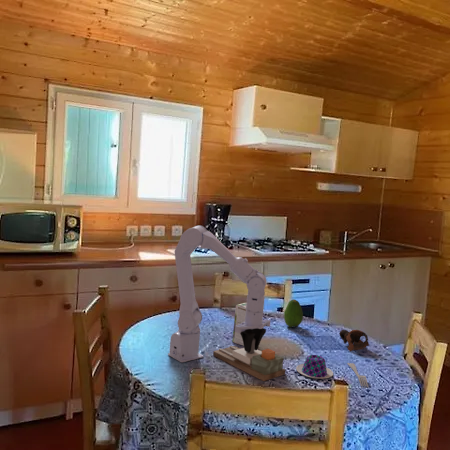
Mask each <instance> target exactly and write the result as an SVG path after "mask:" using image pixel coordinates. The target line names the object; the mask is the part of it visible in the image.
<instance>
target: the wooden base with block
mask: <svg viewBox="0 0 450 450" xmlns="http://www.w3.org/2000/svg"><path fill="white" fill-rule="evenodd" d="M237 349H241V348H240V347H238V346H236V345H230V346H229V347H224V348H218V349H217V350H213V352H212V356H214V357H216V358H217V359H220V360H222V361H224V363H227V364H229V365H231V366H233V367H235V368H237V369H239V370H240V371H243V372H245V373H247V374H249V375H250V376H253V377H254V378H256V379H258V380H260V381H261V382H262V381H263V382H267V381H269V380H271V379H274V378H278V377H281V376H283V375H286V368H283V367H284V357H283V356H281V355H278V354H276V353H275V359H271V360H267V359H264V358H262V357H261V355H262V354H259V355H256V356H253V357H252V364H250V365H249V364H247V363H245V362H243V361H241V360H239V359H237V358H235V357H233V350H237Z"/></svg>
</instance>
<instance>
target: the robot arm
mask: <svg viewBox="0 0 450 450" xmlns="http://www.w3.org/2000/svg"><path fill="white" fill-rule="evenodd" d="M198 247H200V248H201V249H207V250H211V251H213V252H214V253H215V254H216V255H217V256H218V257H220V258H221V259H222V260H223V261H225V262H226V263H227V264H228V265H229V271H230V272H231V273H232V274H234V275H235V276H236V277H237V278H238V279H239V280H240V281H241V282H242V283H243V284H246V287H247V296H246V302H245V303H246V313H245V322H243V323H241V324H239V325H236V326H235V332H237V333H240V334H241V336H242V339H243V343H244V346H243V348H244V349H245V351H247V352H250V351H251V346H252V341H253V338H255V350H259V346H260V344H261V341H262V339H263V337H264V335H265V334H266V333H267V329H266V328H264V327H271V320H269V319H267V318H266V319H263V318H264V307H265V292H266V291H265V289H266V285H267V277H266V276H265V274H264V273H263V272H261V271H259V269H258V268H254V267H253V266H252V264H250V263H249V260H248V259H247V257H245V258H243V257H242V256H236V255H234V254H233V253H232V252H231V250H229V249H228V248H227V247H226V246H225V245H224V243H222V242H221V241H220V240H219V239H218V238H217V236H215V235H214V234H213V233H212V232H211V231H209V230H207V229H206V227H204V226H203V225H195V226H193V227H189V228H187V229H186V230H185V231H184V232H182V233H181V235H180V238H179V241H178V243H177V245H176V247H175V249H174V259H175V268H176V276H177V284H178V291H179V293H178V294H179V300H180V306H179V310H178V314H179V317H178V319H177V327H178V330H176V332H174V333H172V334H171V336H170V339H169V340H170V341H169V342H170V343H169V353H167V355H168V356H170V357H171V358H173V359H174V360H176V361H178V362H180V363H185V362H189V361H193V360H197V359H201V358H205V356H204V355H203V354H201V353H199V350H200V337H201V336H200V335H201V328H200V326H199V325H200V324H201V323H202V321H203V314H202V312H201V310H200V308H199V304H198V302H197V300H196V298H197V297H196V292H195V282H194V275H193V274H194V273H193V266H192V257H191V254H192V253H193V252H194V251H195V250H196V249H197V248H198Z"/></svg>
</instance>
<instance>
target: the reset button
mask: <svg viewBox="0 0 450 450" xmlns="http://www.w3.org/2000/svg"><path fill="white" fill-rule="evenodd" d="M261 351H262V355H261V357H262V358H264V359H267V360H271V359H275V354H276V351H275V350H272V349H270V348H266V349H263V350H261Z"/></svg>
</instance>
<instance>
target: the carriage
mask: <svg viewBox="0 0 450 450" xmlns="http://www.w3.org/2000/svg"><path fill="white" fill-rule="evenodd" d="M259 354H262V350H259V349H257V350H255V338H253V341H252V346H251V351H250V352H247V351H245V349H244V347H242V348H240V349H237V350H233V357H235V358H237V359H239V360H241V361H243V362H245V363H247V364H249V365H250V364H252V357H253V356H256V355H259Z"/></svg>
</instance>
